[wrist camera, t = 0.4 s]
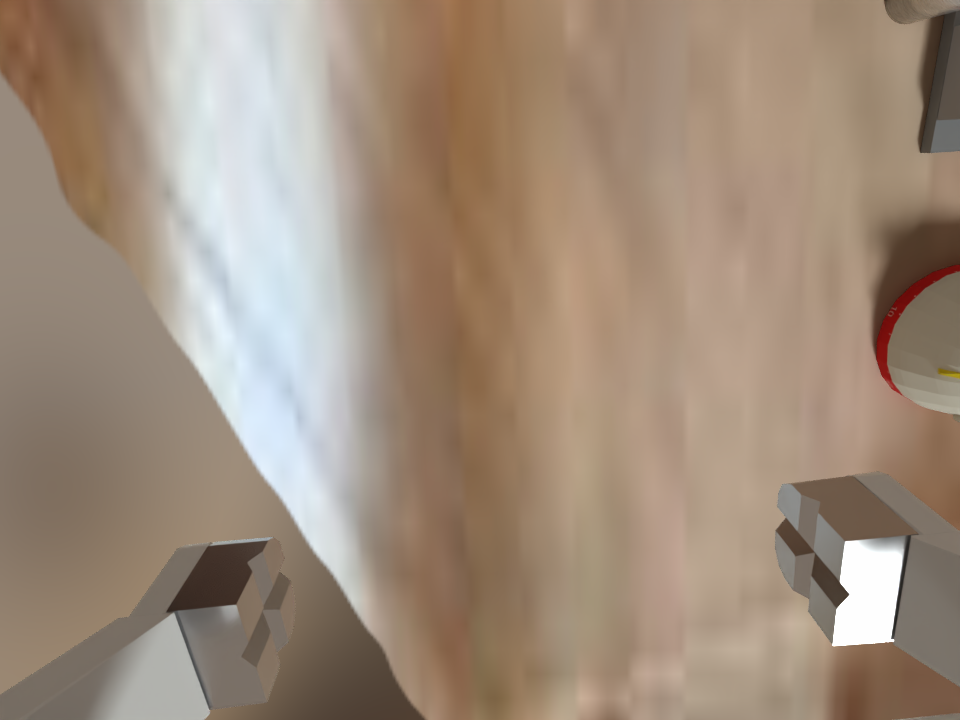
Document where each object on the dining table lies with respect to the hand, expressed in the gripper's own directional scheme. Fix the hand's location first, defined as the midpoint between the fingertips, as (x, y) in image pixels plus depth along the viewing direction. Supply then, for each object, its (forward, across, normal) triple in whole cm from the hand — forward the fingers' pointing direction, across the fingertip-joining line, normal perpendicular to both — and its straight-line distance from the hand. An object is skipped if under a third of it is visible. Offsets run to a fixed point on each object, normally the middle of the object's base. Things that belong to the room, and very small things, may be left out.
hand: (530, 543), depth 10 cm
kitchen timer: (+46, -44, +17) cm, 66 cm away
